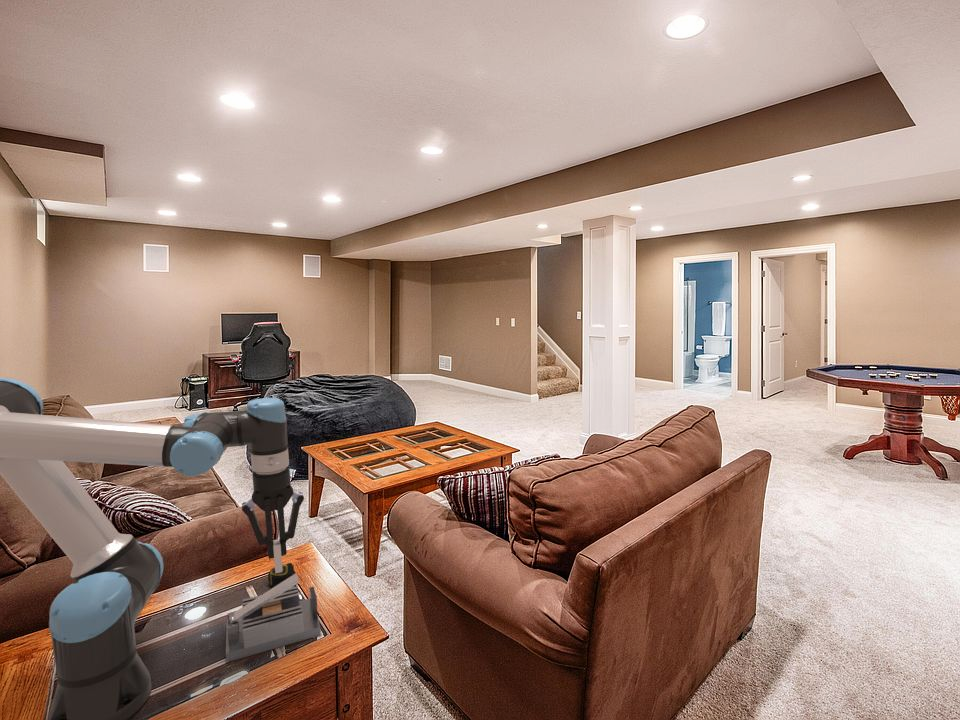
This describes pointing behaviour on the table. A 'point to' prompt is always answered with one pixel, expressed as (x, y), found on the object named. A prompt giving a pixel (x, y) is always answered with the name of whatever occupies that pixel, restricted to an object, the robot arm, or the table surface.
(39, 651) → the table surface
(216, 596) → the table surface
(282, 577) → the tape measure
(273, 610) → the heatsink
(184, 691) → the table surface
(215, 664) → the table surface
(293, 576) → the grey flat bar
